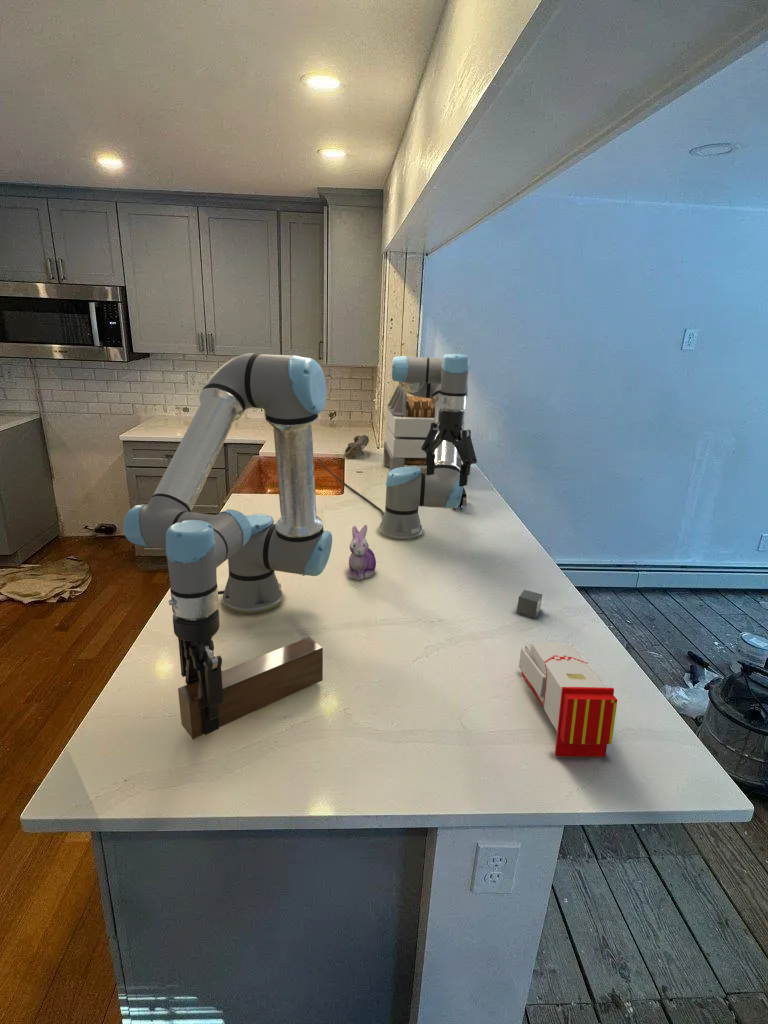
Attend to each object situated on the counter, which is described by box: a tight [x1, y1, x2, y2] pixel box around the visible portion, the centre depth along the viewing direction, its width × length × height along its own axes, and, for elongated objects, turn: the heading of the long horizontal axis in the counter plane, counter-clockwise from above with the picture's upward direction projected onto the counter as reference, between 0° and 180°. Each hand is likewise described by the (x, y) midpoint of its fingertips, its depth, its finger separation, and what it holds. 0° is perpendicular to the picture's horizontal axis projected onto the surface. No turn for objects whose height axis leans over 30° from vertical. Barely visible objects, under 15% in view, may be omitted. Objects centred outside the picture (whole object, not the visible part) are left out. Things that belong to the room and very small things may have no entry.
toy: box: [518, 642, 618, 758], centre depth 113 cm, size 12×13×30 cm
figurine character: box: [452, 486, 468, 511], centre depth 230 cm, size 7×8×15 cm
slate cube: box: [516, 588, 543, 619], centre depth 151 cm, size 5×5×5 cm
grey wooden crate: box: [383, 384, 465, 472], centre depth 268 cm, size 34×33×41 cm
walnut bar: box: [177, 636, 324, 740], centre depth 110 cm, size 5×28×8 cm, turn 131°
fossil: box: [344, 434, 370, 459], centre depth 303 cm, size 22×10×15 cm
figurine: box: [347, 524, 377, 580], centre depth 166 cm, size 9×10×15 cm
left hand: (204, 721), depth 104 cm, fingers closed on walnut bar, 5 cm apart
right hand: (446, 480), depth 171 cm, fingers open, 13 cm apart
